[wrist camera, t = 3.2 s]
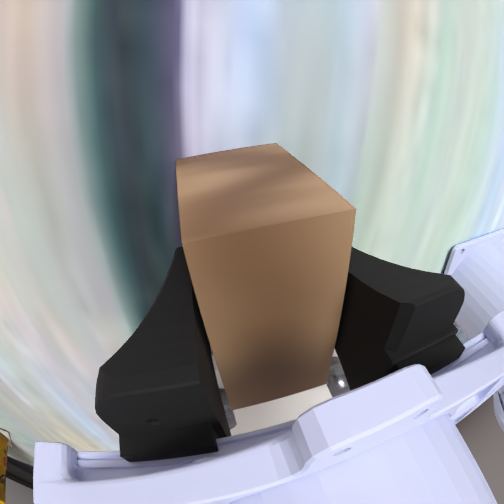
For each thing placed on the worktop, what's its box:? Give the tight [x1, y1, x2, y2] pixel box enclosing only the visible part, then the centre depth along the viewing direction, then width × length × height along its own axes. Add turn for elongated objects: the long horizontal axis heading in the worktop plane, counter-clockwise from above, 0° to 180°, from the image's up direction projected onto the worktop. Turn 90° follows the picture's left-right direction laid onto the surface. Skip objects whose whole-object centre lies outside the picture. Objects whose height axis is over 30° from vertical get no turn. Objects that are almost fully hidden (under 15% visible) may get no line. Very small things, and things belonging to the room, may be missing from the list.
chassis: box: [212, 348, 350, 436], centre depth 22 cm, size 16×18×4 cm
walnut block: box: [176, 143, 356, 410], centre depth 11 cm, size 4×8×6 cm, turn 5°
